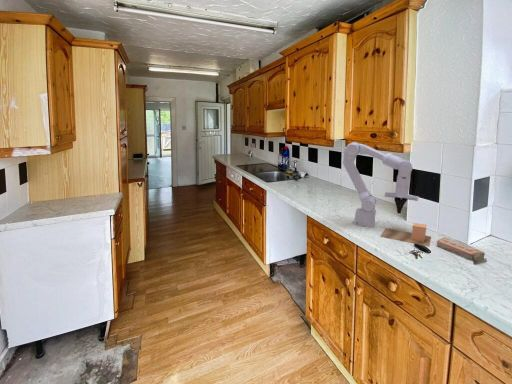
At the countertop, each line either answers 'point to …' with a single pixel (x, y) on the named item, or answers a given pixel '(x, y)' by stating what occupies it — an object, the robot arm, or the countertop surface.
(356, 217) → the robot arm
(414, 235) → the orange rectangular block
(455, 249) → the packaged product
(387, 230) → the board
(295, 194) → the countertop surface
